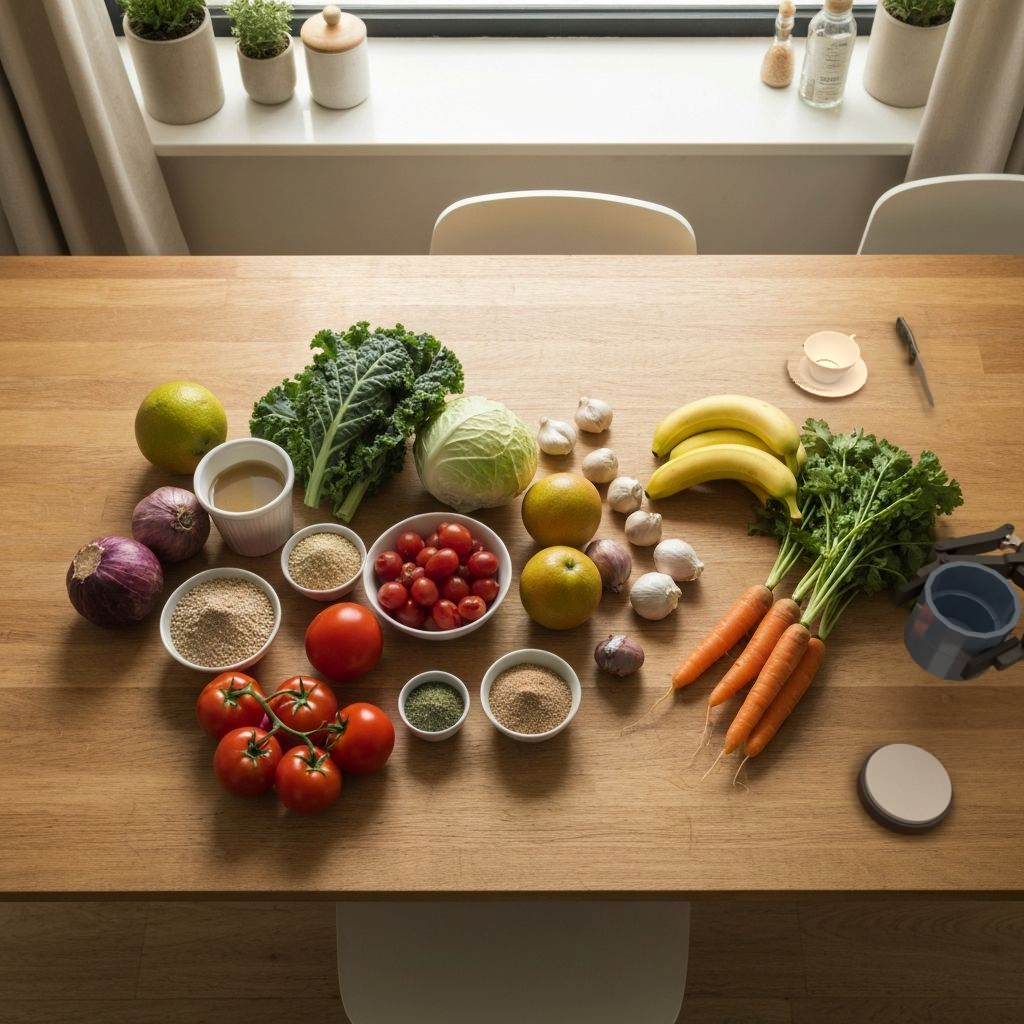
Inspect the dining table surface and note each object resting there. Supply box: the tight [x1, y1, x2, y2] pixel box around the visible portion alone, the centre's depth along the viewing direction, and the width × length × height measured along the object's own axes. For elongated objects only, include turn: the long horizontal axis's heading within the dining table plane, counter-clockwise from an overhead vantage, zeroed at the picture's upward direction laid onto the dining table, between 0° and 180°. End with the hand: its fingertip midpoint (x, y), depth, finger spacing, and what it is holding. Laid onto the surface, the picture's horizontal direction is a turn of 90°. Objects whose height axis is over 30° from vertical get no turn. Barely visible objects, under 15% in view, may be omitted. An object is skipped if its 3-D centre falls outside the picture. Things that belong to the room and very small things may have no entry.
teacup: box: [790, 330, 868, 398], centre depth 162 cm, size 12×12×5 cm
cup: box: [903, 561, 1022, 683], centre depth 116 cm, size 10×10×10 cm
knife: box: [895, 316, 935, 409], centre depth 163 cm, size 20×1×3 cm, turn 1°
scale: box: [856, 743, 954, 836], centre depth 121 cm, size 10×10×3 cm
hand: (931, 633), depth 114 cm, fingers closed on cup, 10 cm apart
